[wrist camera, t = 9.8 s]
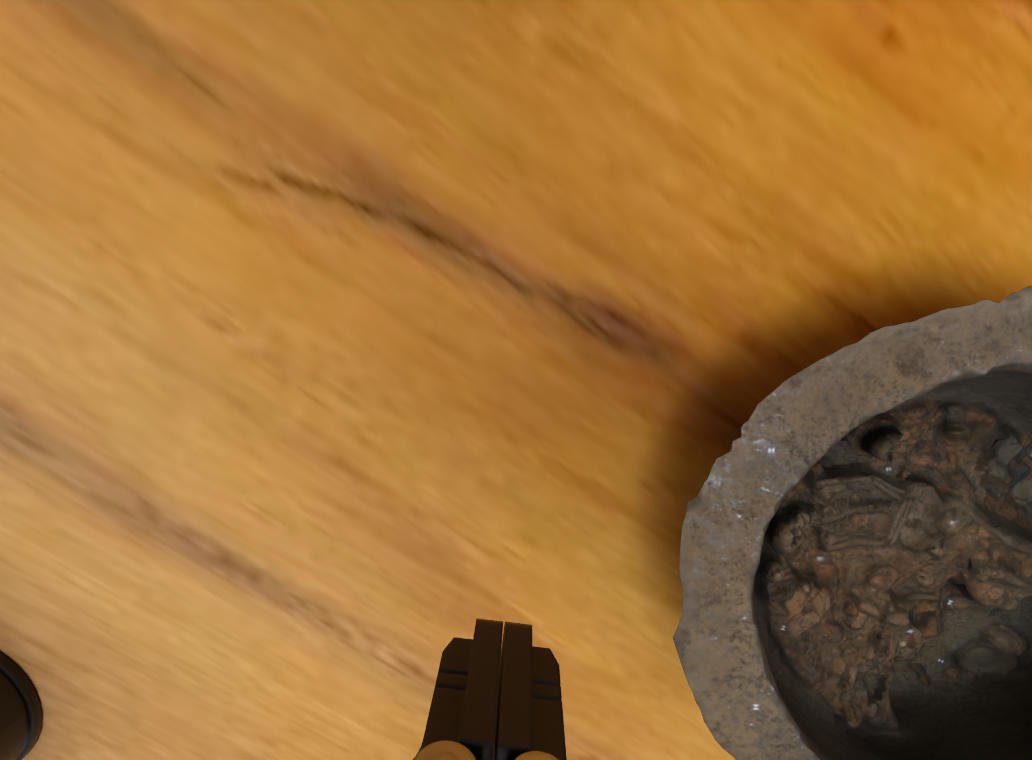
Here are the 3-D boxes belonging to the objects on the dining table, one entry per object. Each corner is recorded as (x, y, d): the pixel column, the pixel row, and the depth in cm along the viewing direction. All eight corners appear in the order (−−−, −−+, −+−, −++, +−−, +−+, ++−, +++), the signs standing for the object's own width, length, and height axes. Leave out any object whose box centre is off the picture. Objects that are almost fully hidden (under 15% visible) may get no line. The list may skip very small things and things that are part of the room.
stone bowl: (1037, 774, 28) (1262, 1011, 19) (597, 664, 29) (610, 835, 20) (1268, 345, 22) (1737, 390, 13) (714, 238, 24) (802, 214, 15)
